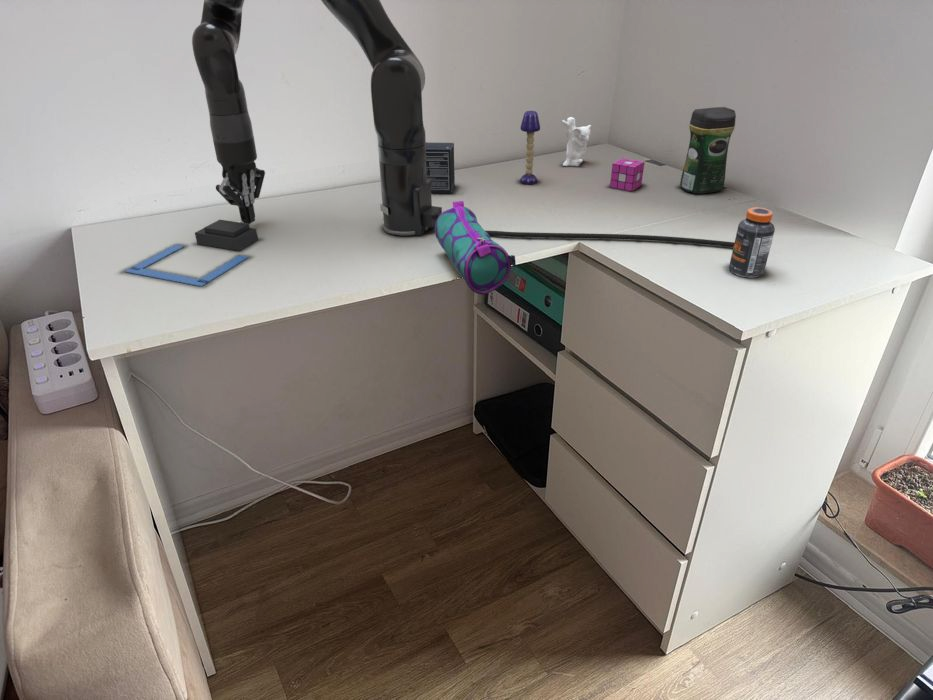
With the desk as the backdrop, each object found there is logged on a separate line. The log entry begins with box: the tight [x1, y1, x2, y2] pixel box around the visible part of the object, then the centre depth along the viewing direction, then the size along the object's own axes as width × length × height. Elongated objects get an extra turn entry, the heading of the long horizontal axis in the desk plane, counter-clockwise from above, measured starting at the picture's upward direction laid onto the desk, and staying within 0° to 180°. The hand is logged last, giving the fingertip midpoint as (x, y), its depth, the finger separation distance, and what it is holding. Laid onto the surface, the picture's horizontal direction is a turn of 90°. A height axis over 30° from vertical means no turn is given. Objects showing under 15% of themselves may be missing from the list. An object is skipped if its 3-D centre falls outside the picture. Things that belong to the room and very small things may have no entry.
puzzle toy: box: [609, 157, 645, 192], centre depth 158 cm, size 6×6×6 cm
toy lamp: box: [519, 110, 541, 185], centre depth 158 cm, size 5×5×17 cm
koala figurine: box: [561, 116, 593, 167], centre depth 172 cm, size 8×7×12 cm
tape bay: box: [124, 244, 249, 287], centre depth 122 cm, size 17×13×1 cm
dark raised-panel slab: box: [194, 219, 259, 252], centre depth 130 cm, size 10×6×4 cm, turn 69°
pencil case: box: [434, 200, 517, 296], centre depth 116 cm, size 21×9×10 cm, turn 17°
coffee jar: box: [679, 106, 737, 194], centre depth 153 cm, size 10×8×19 cm
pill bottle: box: [728, 206, 776, 278], centre depth 115 cm, size 6×6×11 cm
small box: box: [426, 141, 456, 194], centre depth 155 cm, size 11×6×10 cm, turn 84°
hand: (249, 222), depth 136 cm, fingers closed
